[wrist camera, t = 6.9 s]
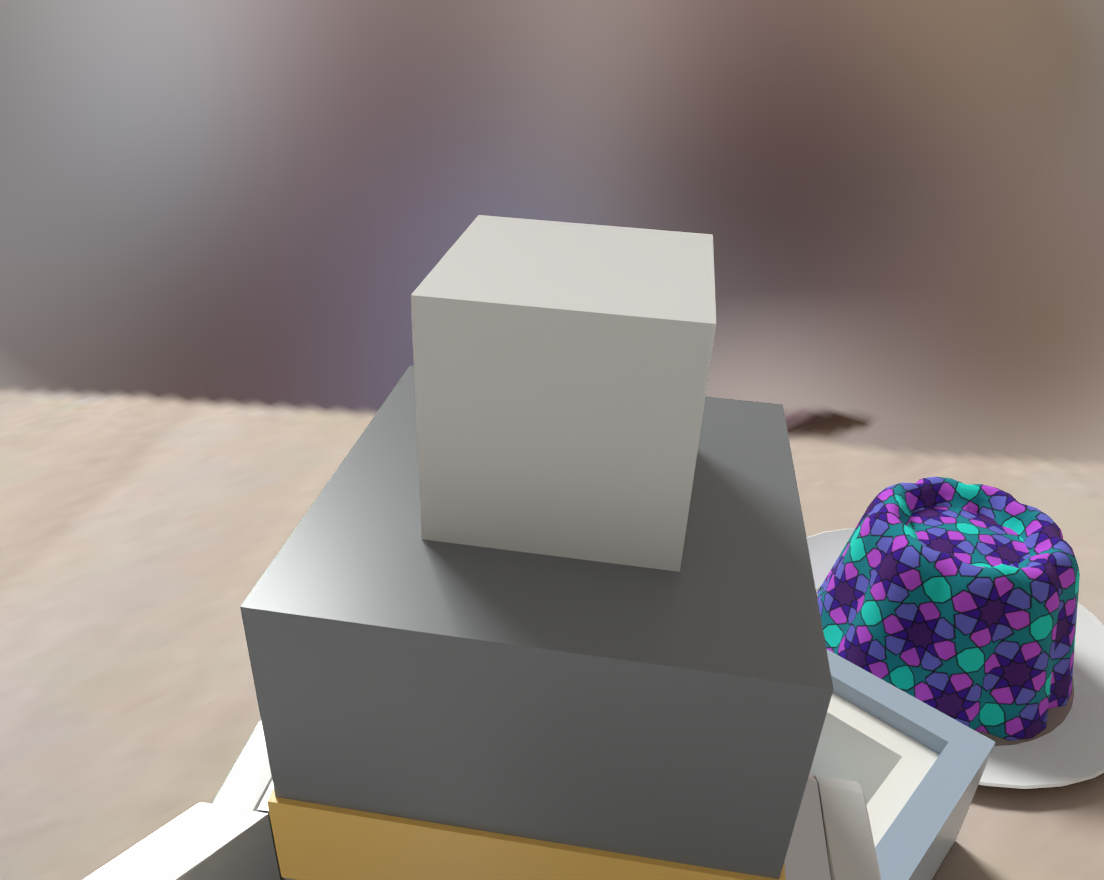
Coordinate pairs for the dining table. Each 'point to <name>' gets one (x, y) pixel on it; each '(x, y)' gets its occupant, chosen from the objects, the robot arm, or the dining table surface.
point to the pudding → (971, 621)
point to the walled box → (900, 767)
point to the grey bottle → (547, 591)
